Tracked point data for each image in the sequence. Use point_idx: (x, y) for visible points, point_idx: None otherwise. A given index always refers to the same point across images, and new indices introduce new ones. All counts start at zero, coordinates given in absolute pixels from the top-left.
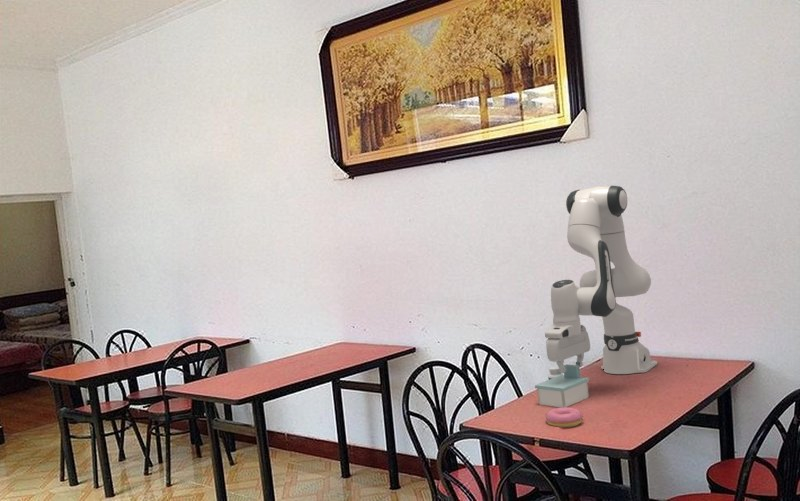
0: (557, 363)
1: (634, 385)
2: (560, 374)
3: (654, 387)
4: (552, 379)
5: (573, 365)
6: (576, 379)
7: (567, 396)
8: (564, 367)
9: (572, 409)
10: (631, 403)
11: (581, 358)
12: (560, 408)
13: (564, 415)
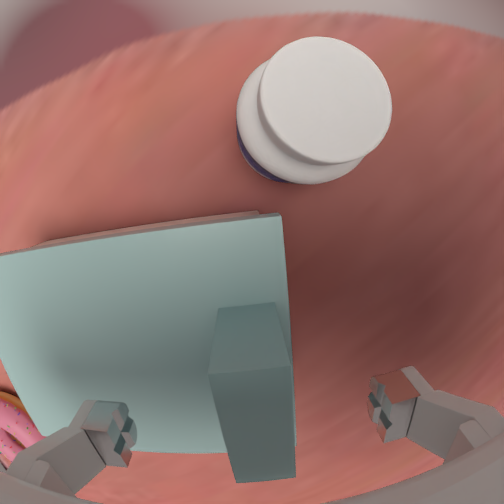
0: (26, 460)
1: (494, 354)
2: (321, 167)
3: None
4: (107, 260)
5: (277, 446)
6: (216, 417)
7: None
8: (100, 466)
9: None
10: (291, 481)
11: (433, 449)
12: (12, 434)
13: (6, 457)
